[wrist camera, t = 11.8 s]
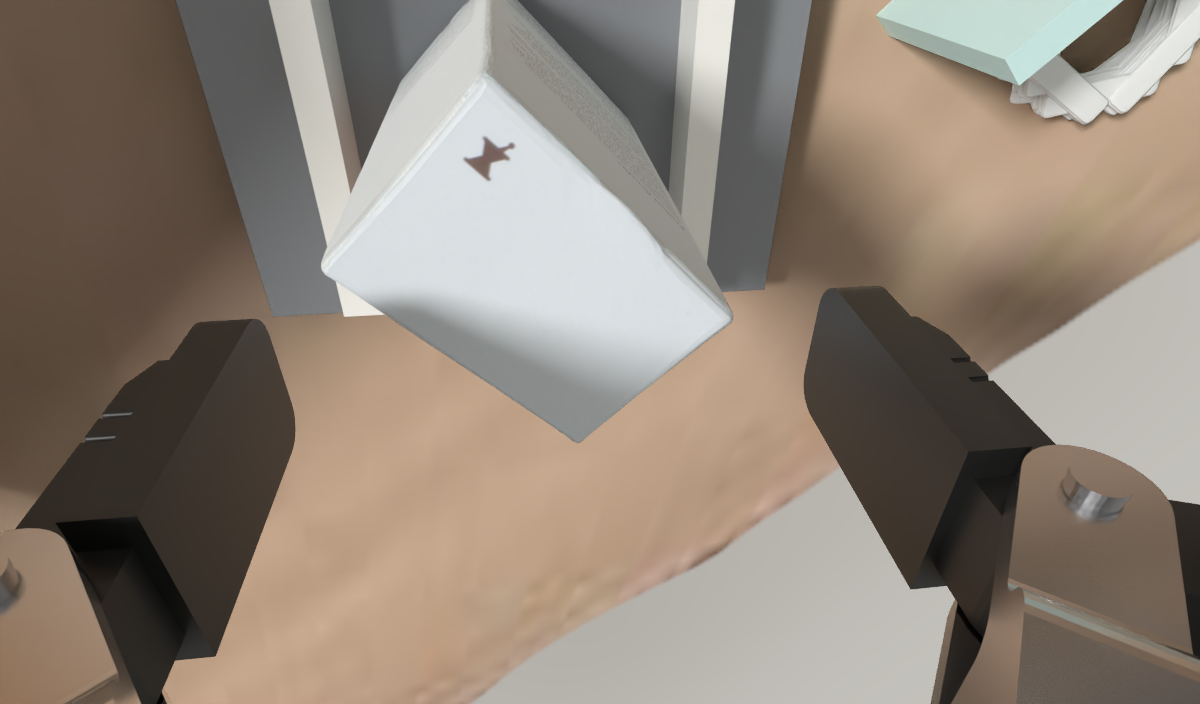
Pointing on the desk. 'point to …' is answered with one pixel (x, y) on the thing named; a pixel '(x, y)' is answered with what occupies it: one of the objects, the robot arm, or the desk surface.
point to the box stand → (400, 37)
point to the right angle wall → (1050, 47)
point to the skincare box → (524, 226)
